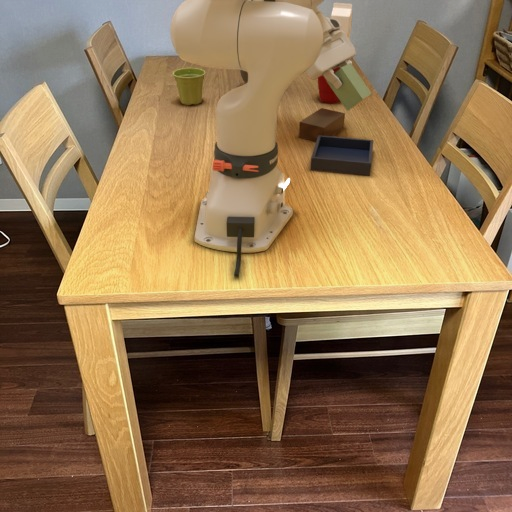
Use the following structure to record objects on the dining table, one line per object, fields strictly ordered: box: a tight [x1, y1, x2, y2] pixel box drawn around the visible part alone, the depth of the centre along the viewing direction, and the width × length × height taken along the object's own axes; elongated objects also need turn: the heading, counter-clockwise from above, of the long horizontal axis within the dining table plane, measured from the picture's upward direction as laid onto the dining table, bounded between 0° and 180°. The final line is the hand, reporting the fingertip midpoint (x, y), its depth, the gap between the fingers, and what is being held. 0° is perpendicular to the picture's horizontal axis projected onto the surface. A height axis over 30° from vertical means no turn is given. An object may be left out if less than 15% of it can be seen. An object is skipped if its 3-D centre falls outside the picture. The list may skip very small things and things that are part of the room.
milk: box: [330, 2, 353, 41], centre depth 181 cm, size 6×6×22 cm
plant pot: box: [172, 67, 206, 106], centre depth 161 cm, size 9×9×9 cm
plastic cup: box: [317, 59, 353, 104], centre depth 162 cm, size 11×11×12 cm
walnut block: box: [298, 107, 346, 143], centre depth 143 cm, size 7×12×4 cm, turn 147°
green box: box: [326, 63, 372, 112], centre depth 134 cm, size 10×5×10 cm, turn 57°
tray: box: [309, 135, 374, 177], centre depth 130 cm, size 13×13×3 cm
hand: (346, 83), depth 134 cm, fingers closed on green box, 5 cm apart
